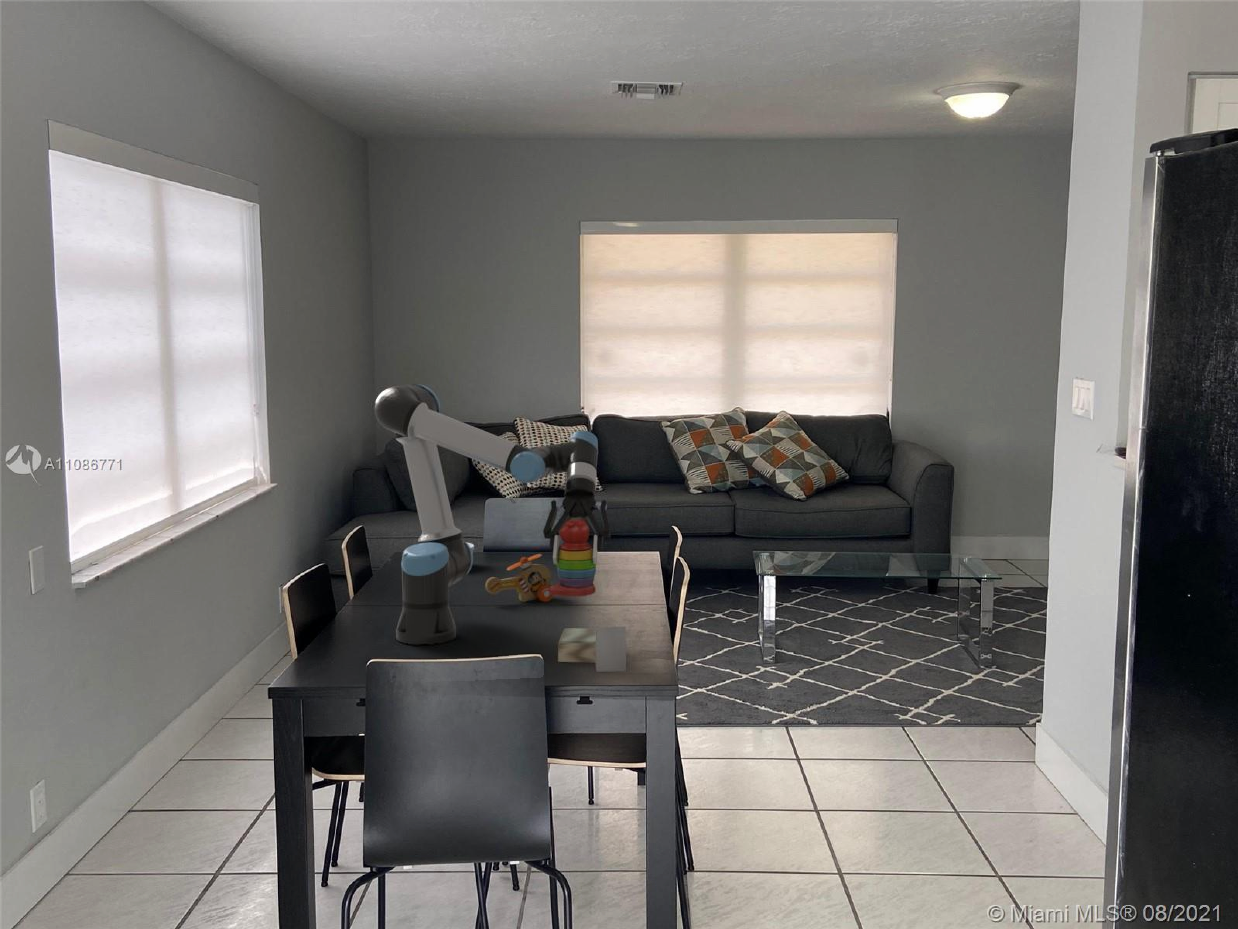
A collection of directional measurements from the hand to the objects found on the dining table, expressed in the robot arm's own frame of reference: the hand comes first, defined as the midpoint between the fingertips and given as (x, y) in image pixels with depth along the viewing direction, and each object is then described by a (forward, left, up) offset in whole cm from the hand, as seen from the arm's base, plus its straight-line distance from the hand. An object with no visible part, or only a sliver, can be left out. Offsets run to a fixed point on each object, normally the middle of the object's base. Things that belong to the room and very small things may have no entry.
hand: (574, 561), depth 257 cm
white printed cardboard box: (+9, -7, -24) cm, 27 cm away
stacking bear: (0, +3, -9) cm, 9 cm away
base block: (+2, +4, -24) cm, 24 cm away
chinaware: (-51, +97, -24) cm, 112 cm away
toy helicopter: (-21, +55, -24) cm, 63 cm away
